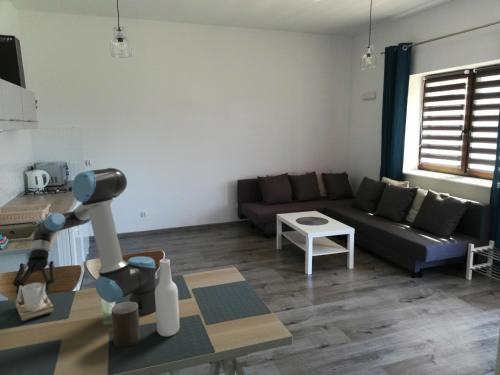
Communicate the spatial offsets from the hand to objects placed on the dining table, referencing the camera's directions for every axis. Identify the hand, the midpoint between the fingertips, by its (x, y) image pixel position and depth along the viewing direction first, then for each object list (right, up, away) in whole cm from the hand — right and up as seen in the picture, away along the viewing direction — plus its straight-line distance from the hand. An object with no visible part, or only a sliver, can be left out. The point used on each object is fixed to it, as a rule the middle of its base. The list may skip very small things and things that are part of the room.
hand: (31, 300), depth 155 cm
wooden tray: (-3, -7, +7) cm, 11 cm away
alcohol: (+61, -10, -9) cm, 63 cm away
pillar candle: (+46, -11, -15) cm, 50 cm away
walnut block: (-8, -4, +9) cm, 13 cm away
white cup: (-1, -5, +4) cm, 6 cm away
